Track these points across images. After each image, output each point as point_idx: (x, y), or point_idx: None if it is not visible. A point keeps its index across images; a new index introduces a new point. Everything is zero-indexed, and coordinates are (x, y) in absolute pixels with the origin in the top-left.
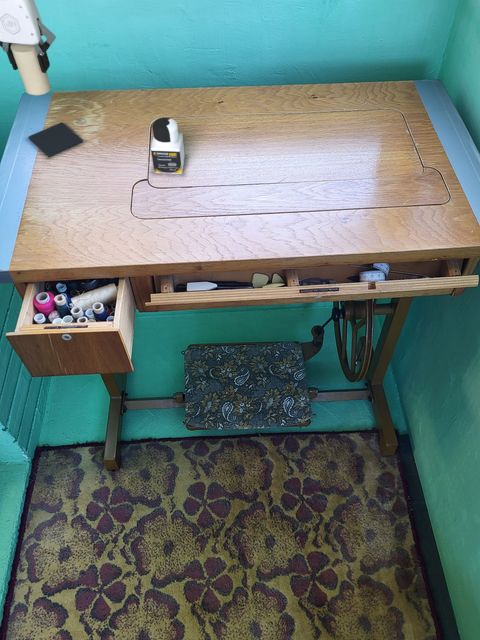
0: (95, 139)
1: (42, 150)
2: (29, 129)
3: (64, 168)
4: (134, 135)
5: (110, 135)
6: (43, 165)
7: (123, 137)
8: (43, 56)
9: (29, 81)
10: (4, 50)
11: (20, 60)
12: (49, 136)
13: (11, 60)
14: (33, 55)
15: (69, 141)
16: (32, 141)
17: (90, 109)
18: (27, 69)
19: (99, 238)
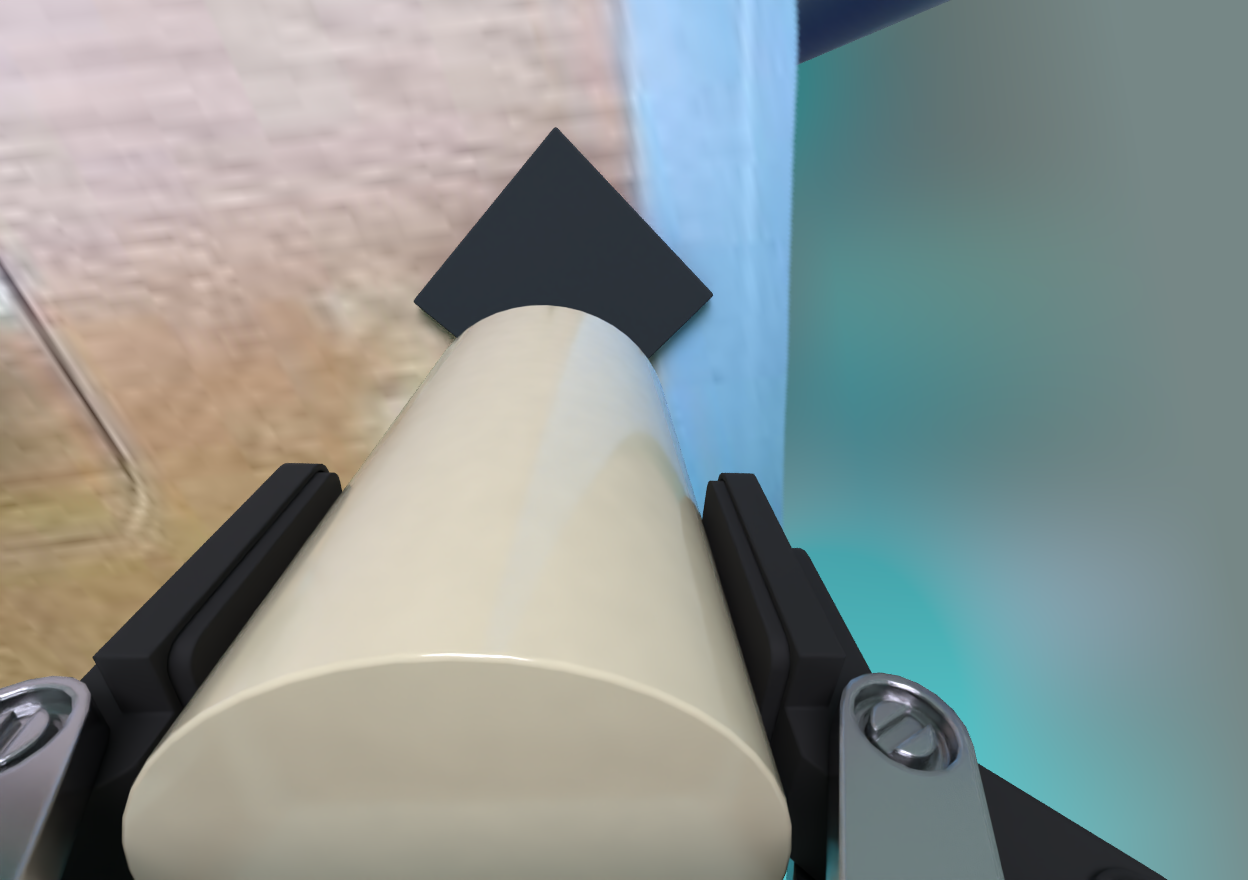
0: (360, 333)
1: (604, 178)
2: (726, 372)
3: (424, 18)
4: (171, 391)
5: (296, 375)
6: (566, 39)
7: (219, 367)
8: (94, 680)
9: (534, 352)
10: (919, 706)
11: (538, 509)
12: (600, 310)
13: (772, 555)
14: (222, 657)
15: (475, 279)
16: (684, 263)
17: None
18: (476, 422)
19: None
